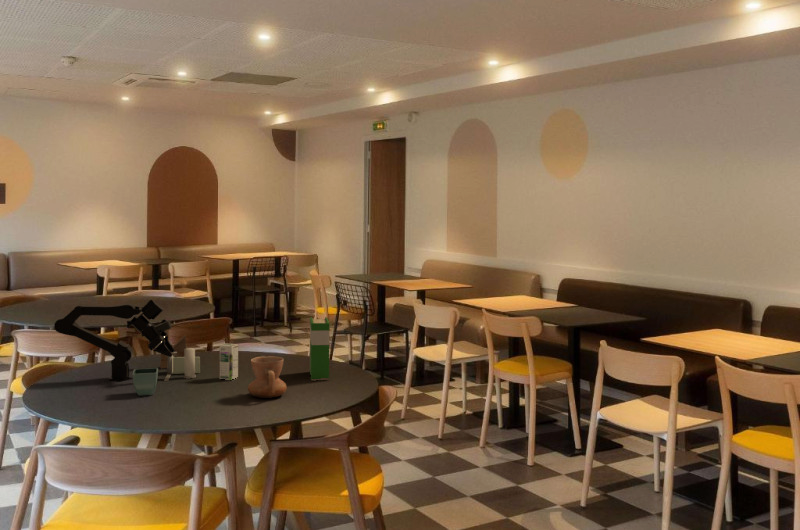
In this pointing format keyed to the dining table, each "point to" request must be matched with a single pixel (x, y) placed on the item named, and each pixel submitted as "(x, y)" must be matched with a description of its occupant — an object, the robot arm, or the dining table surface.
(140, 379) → the flower pot
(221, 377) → the syrup box
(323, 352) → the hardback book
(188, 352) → the beige dome-topped cylinder
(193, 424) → the dining table surface
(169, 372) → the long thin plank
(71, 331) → the robot arm
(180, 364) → the beige flat block
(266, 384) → the ceramic jug
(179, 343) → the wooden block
